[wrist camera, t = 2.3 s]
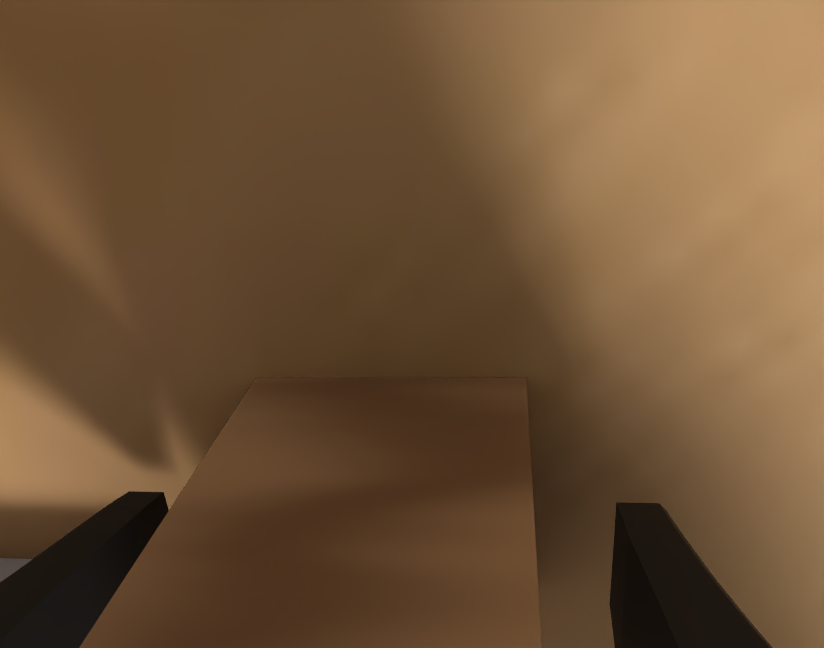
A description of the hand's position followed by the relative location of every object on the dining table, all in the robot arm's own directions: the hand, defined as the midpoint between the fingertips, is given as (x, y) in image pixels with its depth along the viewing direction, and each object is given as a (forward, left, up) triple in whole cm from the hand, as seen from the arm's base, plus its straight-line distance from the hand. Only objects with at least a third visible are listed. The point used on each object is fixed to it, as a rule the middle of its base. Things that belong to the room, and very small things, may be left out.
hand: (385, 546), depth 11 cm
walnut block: (0, 0, -2) cm, 2 cm away
